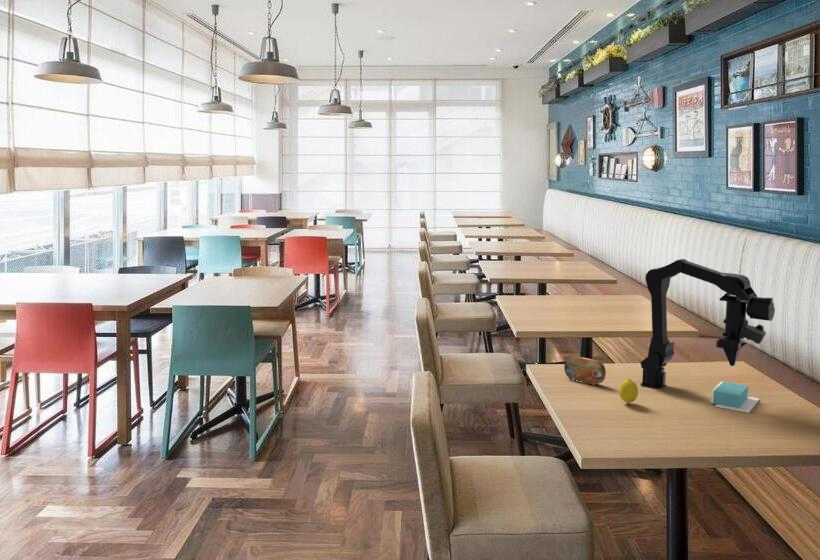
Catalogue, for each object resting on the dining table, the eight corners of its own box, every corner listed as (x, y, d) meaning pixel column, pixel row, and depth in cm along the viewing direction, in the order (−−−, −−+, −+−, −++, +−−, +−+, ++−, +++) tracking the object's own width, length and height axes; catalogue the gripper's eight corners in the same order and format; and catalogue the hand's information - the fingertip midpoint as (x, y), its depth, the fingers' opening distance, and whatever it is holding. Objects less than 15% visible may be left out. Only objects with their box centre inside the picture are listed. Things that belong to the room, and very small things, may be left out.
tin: (563, 378, 249) (564, 354, 248) (568, 376, 251) (569, 353, 250) (601, 387, 238) (602, 363, 237) (606, 385, 240) (607, 361, 239)
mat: (715, 406, 219) (715, 405, 219) (727, 394, 231) (727, 393, 231) (749, 412, 214) (749, 411, 214) (759, 399, 226) (759, 398, 226)
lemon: (638, 402, 223) (639, 377, 222) (635, 407, 218) (637, 382, 217) (620, 400, 225) (621, 375, 224) (617, 405, 220) (618, 380, 219)
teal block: (712, 390, 221) (739, 395, 216) (721, 381, 230) (748, 385, 226) (711, 402, 221) (738, 408, 217) (720, 393, 231) (747, 397, 226)
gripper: (758, 324, 208) (754, 377, 210) (770, 314, 222) (766, 363, 225) (717, 320, 214) (714, 370, 216) (732, 310, 229) (728, 357, 231)
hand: (732, 365), depth 222 cm, fingers closed
